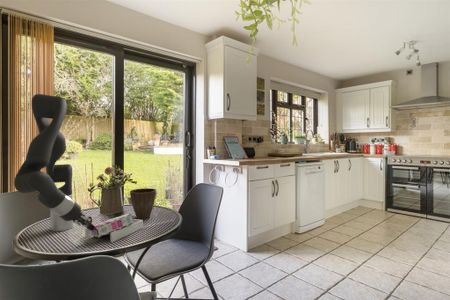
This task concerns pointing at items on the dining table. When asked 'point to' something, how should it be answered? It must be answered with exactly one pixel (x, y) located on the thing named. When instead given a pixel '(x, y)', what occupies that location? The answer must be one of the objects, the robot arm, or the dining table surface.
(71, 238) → the dining table surface
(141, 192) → the plant pot
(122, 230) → the grey bracket
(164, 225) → the dining table surface
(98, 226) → the candy bar box
